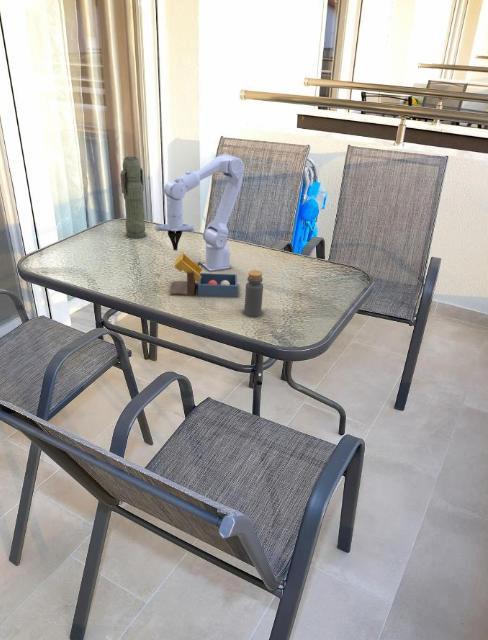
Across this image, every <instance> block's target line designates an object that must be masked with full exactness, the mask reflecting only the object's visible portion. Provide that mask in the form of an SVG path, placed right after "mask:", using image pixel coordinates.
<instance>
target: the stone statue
mask: <svg viewBox="0 0 488 640" xmlns="http://www.w3.org/2000/svg"><path fill="white" fill-rule="evenodd" d="M119 174H120V184H121V185H120V186H121V187H120V188H121V193H122V195H123V199H124V207H125V222H124V223H125V231H126V237H127V238H130V239H141V238H144V237H145V236H146V221H145V218H144V205H143V204H144V203H143V199H144V191H145V187H144V170H143V168H142V167H141V164H140V161H139V158H137V157H136V156H125V157H124V158H123V161H122V170H121V171H120V173H119Z"/></svg>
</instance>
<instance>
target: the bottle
mask: <svg viewBox="0 0 488 640" xmlns="http://www.w3.org/2000/svg"><path fill="white" fill-rule="evenodd" d="M262 276H263V271H260V270H259V269H258V270H257V269H252V270H248V276H247V278H246V280H247V283H246V284H245V294H244V315H246V316H248V317H259V316H261V315H262V308H263V307H262V305H263V295H264V294H263V293H264V284H263V283H262V282H263V277H262Z"/></svg>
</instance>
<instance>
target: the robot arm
mask: <svg viewBox="0 0 488 640" xmlns="http://www.w3.org/2000/svg"><path fill="white" fill-rule="evenodd" d="M245 168H246V166H245V164H244V162H243V160H242V159H241V158H240V157H237V156H233V155H229V154H228V153H221V154H220V155H217V156H216V157H214V159H213V160H212V161H210V162H208V163H207V164H206V165H204V166H203V167H201V168H199V169H198V170H196V171H194V170H186V171H185V174H183V175H181V176H179V177H176V178H175V179H174V180H168V181H167V182H166V184H165V185H164V188H162V189H163V190H162V191H163V194H164V195H165V196H166V220H167V221H166V224H156V225H155V232H167V236H168V238H169V240H170V243H171V245H172V249H173V251H178V247H179V246H178V245H179V242H180V239H181V238H182V236H183V235H182V234H183V233H192V234H193V233H194V234H195V225H186V224H184V223H183V198H184V197H185V195H186V193H188V192H189V191H192V190H193V189H195V188H196V187H198V186H199V185H200V183H201V181H202V180H204V179H207V178H209V177H210V176H212V175H214V174H216V173H222V174H223V175H224V178H225V179H226V182H227V183H226V185H225V188H224V191H223V194H222V197H221V199H220V202H219V205H218V208H217V209H216V212H215V216H214V218H213V220H212V221H210V222H209V223H208V225H207V227H206V228H205V230H204V231H203V234H202V238H203V240H204V242H205V262H203V263H201V264H202V265H203V267H204V268H206V269H207V270H208V271H209V272H213V271H220V270H227V269H230V268H231V266H230V261H231V260H230V257H231V251H230V247H229V246H228V245H227V243H228V234H229V229H228V222H229V221H230V218H231V215H232V211H233V209H234V208H235V207H234V206H235V204H236V201H237V198H238V195H239V193H240V190H241V187H242V185H243V182H244V181H243V178H244V175H243V174H244V172H245Z"/></svg>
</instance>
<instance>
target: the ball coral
mask: <svg viewBox="0 0 488 640" xmlns="http://www.w3.org/2000/svg"><path fill="white" fill-rule="evenodd" d="M208 285H217V282H216V281H214V280H211V281H209V282H208Z"/></svg>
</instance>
